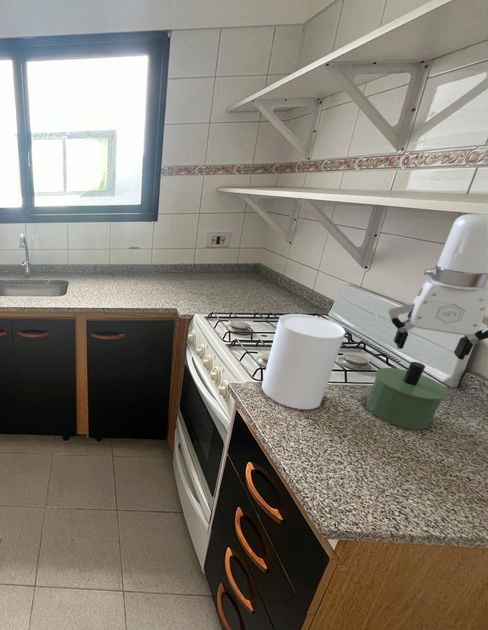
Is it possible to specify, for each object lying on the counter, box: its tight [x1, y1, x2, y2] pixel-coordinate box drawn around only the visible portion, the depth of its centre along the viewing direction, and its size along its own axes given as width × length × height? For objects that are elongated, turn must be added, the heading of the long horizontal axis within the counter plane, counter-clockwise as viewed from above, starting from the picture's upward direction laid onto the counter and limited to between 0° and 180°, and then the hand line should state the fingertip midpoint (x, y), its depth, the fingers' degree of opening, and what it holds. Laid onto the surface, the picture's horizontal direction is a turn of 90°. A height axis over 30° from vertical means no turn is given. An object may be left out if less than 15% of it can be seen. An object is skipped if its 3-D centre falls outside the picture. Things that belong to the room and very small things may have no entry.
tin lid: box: [374, 361, 449, 401], centre depth 79 cm, size 12×12×6 cm
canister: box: [261, 313, 346, 410], centre depth 88 cm, size 14×14×20 cm
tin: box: [365, 377, 442, 430], centre depth 82 cm, size 11×11×8 cm
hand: (427, 351), depth 77 cm, fingers open, 9 cm apart
